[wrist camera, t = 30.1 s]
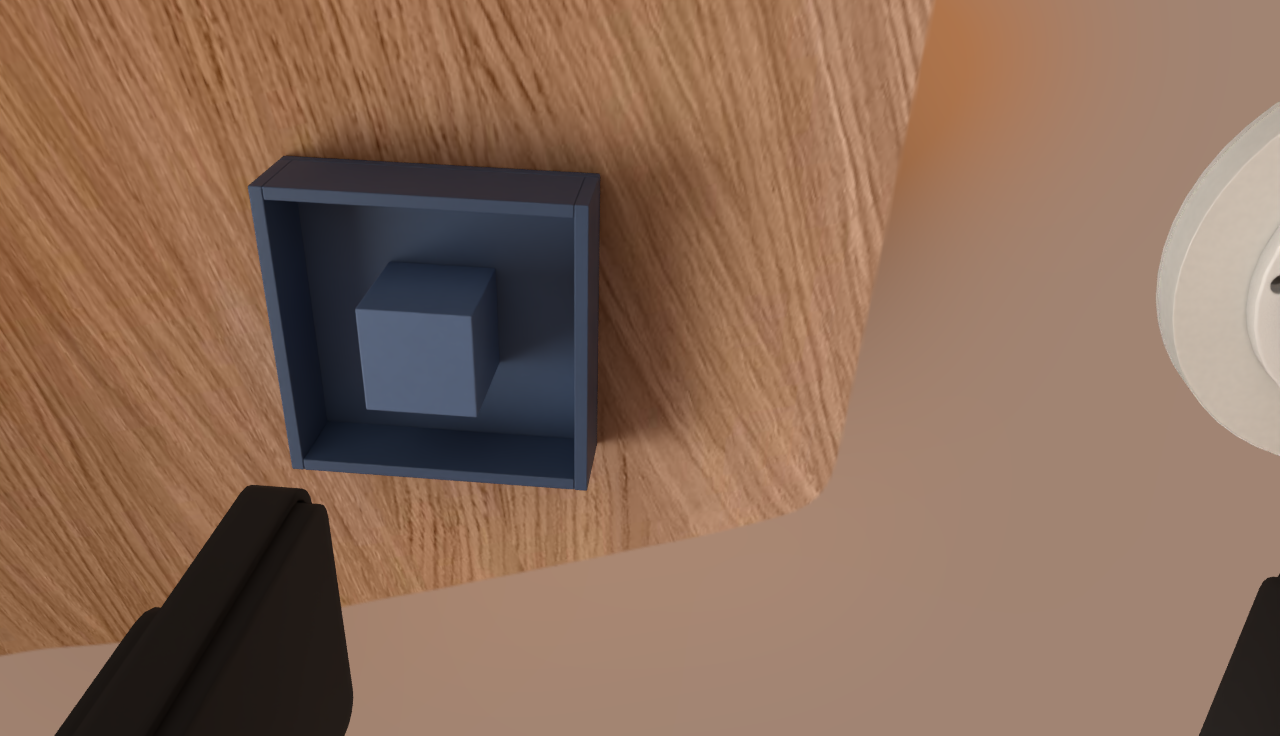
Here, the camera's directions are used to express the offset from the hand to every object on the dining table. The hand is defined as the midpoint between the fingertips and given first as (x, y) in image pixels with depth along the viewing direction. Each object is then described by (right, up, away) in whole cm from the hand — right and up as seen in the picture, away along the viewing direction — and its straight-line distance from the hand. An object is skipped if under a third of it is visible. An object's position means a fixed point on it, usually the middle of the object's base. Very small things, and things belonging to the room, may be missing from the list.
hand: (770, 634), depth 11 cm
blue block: (-10, +5, +39) cm, 41 cm away
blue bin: (-10, +6, +40) cm, 41 cm away
